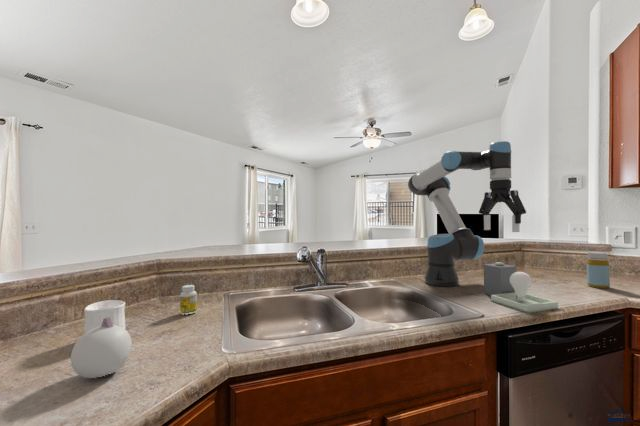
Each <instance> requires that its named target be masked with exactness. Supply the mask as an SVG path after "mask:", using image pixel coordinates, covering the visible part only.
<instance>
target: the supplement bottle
mask: <svg viewBox="0 0 640 426" xmlns="http://www.w3.org/2000/svg"><path fill="white" fill-rule="evenodd" d="M181 290H182V292H181V293H180V295H179V304H180V311H181V312H182V313H189V312H194V311H196V310H197V311H198V293H197V291H196V290H195V285H194V284H186V285H182V287H181ZM181 312H180V313H181Z"/></svg>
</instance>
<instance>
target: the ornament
mask: <svg viewBox="0 0 640 426" xmlns="http://www.w3.org/2000/svg"><path fill="white" fill-rule="evenodd" d="M132 343H133V341H132V338H131V335H130V333H129V331H128V330H126V328H125V329H124V328H122V327H120V326H116V325H112V321H111V318H110V317H106V318H104V319H103V322H102V326H99V327H96V328H94V329H92V330H90V331H88V332H86V333H85V334H84V333H83V335H81V336H80V337H79V338H78V339H77V341H76V342H75V344H74V346H73V348H72V350H71V354H70V364H71V367H72V369H73V371H74V372H75V374H77V375H79V376H80V377H82V378H85V379H91V378H94V379H96V378H95V377H100V376H104V375H107V374H109V373H112V372H114V371H115V372H116V370H117V371H118V370H119V369H121V368H122V367H123V365H125V363H126V362H127V360H128V359H129V358H130V354H131V351H132V346H133V344H132ZM115 372H114V373H115ZM112 374H113V373H112ZM107 376H108V375H107ZM104 377H105V376H104Z"/></svg>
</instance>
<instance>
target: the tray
mask: <svg viewBox="0 0 640 426" xmlns="http://www.w3.org/2000/svg"><path fill="white" fill-rule="evenodd" d="M525 297H526V301H525V302H519V301H517V300H516V294H515V292H513V293H505V294H496V295H490V301H491V302H494V303H497V304H498V305H499V304H500V305H502V306H505V307H509V308H511V309H515V310H517V311H520V312H523V313H526V314H529V313H536V312H541V311H548V310H556V309H559V302H558V301H556V300H552V299H549V298H544V297H542V296H541V297H540V296H536V295H534V294H530V293H529V294H528V293H527V295H526V296H525Z"/></svg>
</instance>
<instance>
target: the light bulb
mask: <svg viewBox="0 0 640 426" xmlns="http://www.w3.org/2000/svg"><path fill="white" fill-rule="evenodd" d="M510 283H511V285H512V287H513V288H514V290H515V294H516V300H517V301H519V302H525V301H526V297H525V296H526V295H527V294H528V293H527V292H528V291H529V289H530V288H531V286H532V283H533V280H532V278H531V276H530V275H529V274H528V273H525V272H523V271H517V272H515V273H513V274H512V275H511V276H510Z"/></svg>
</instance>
